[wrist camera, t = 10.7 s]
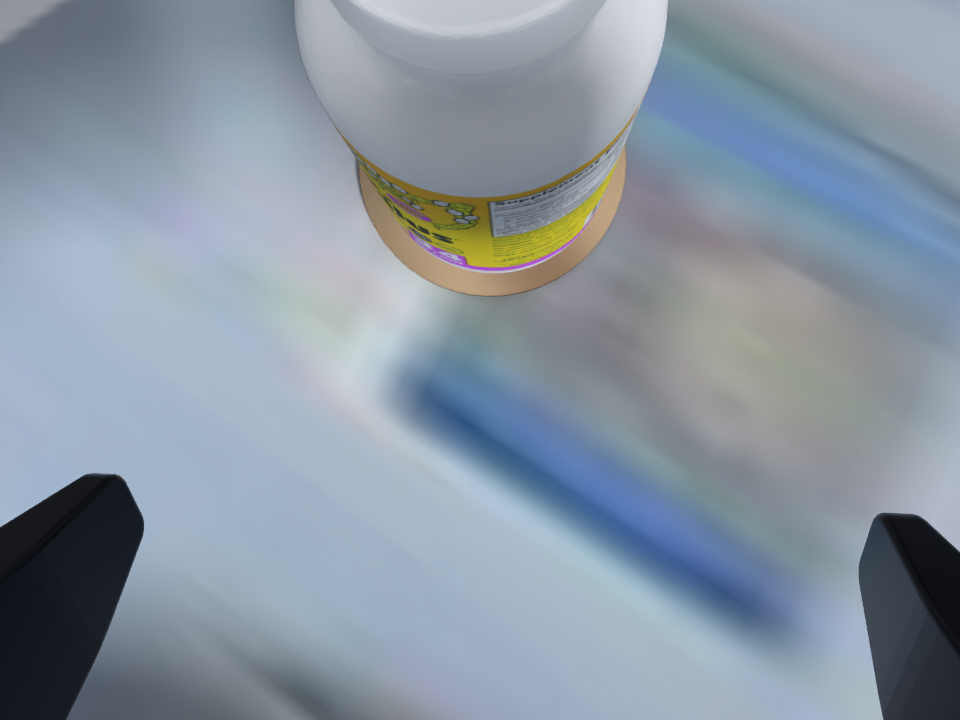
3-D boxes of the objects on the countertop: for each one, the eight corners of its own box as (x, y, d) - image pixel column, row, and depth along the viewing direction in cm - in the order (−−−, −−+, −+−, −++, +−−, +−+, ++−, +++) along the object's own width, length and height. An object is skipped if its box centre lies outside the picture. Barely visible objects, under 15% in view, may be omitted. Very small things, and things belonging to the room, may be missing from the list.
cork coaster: (487, 351, 23) (486, 351, 22) (307, 164, 23) (304, 161, 23) (680, 167, 23) (682, 163, 22) (495, -15, 23) (495, -21, 23)
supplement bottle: (348, 122, 23) (130, -244, 10) (544, 23, 23) (576, -473, 10) (444, 318, 22) (343, 194, 10) (646, 218, 22) (817, -43, 9)
